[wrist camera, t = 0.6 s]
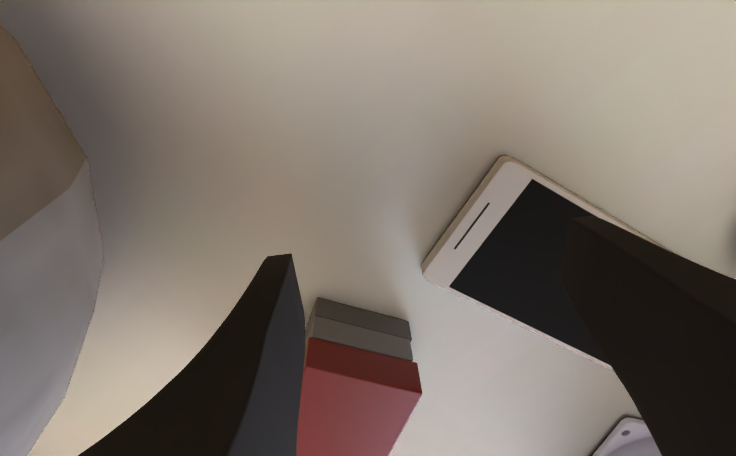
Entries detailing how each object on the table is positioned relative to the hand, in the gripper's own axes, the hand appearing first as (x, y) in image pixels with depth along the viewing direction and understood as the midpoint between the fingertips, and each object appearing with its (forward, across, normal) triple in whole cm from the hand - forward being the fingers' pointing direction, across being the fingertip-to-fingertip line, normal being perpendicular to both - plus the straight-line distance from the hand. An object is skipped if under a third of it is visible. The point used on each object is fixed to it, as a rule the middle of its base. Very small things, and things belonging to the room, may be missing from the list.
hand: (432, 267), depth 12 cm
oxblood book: (+6, +4, +14) cm, 15 cm away
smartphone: (+9, -9, +9) cm, 16 cm away
